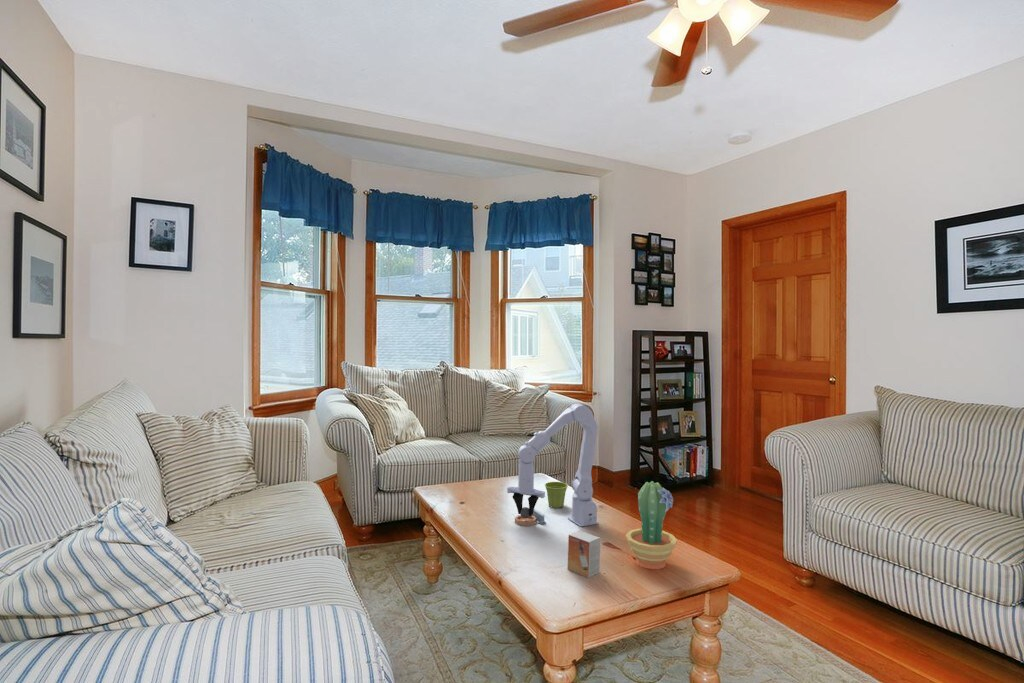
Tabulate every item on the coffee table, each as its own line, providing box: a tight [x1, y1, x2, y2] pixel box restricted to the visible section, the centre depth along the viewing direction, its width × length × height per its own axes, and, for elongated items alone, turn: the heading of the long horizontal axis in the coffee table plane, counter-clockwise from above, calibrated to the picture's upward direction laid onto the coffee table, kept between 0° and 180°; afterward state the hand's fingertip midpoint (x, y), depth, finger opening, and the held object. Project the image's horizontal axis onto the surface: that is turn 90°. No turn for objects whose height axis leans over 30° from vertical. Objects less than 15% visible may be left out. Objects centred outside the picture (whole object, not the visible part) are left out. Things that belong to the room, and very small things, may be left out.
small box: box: [567, 530, 601, 578], centre depth 158 cm, size 8×6×10 cm
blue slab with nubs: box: [532, 508, 547, 525], centre depth 201 cm, size 10×2×3 cm, turn 26°
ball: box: [519, 506, 530, 518], centre depth 198 cm, size 4×4×4 cm
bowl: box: [514, 514, 537, 527], centre depth 199 cm, size 8×8×1 cm
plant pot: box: [544, 481, 569, 509], centre depth 218 cm, size 9×9×9 cm
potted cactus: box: [625, 480, 678, 570], centre depth 164 cm, size 15×16×25 cm
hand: (525, 514), depth 198 cm, fingers closed on ball, 4 cm apart
